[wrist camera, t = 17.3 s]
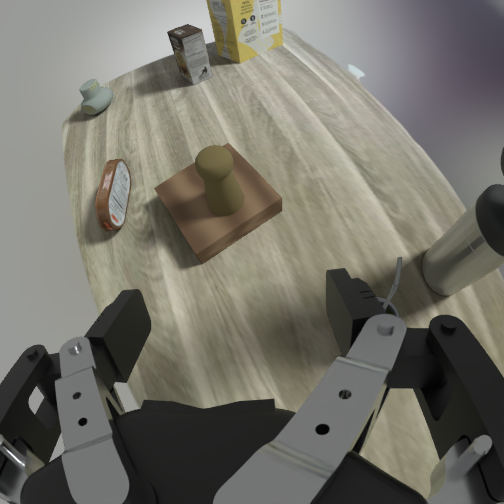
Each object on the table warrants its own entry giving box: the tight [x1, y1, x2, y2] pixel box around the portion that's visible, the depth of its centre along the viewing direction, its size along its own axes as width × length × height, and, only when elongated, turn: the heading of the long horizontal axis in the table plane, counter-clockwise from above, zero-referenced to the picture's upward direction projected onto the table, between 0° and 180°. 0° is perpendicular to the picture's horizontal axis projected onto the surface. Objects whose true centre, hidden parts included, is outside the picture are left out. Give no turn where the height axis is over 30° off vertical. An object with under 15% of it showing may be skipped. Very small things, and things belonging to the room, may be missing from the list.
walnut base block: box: [154, 143, 282, 264], centre depth 48 cm, size 16×16×4 cm
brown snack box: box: [167, 24, 212, 85], centre depth 61 cm, size 9×6×16 cm
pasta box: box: [207, 0, 283, 63], centre depth 60 cm, size 18×10×28 cm, turn 133°
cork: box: [195, 145, 244, 216], centre depth 40 cm, size 6×6×11 cm
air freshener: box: [80, 79, 113, 115], centre depth 65 cm, size 11×8×10 cm
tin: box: [95, 159, 131, 231], centre depth 49 cm, size 15×3×8 cm, turn 4°
